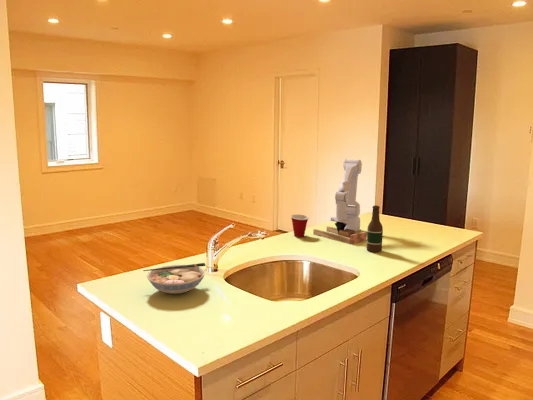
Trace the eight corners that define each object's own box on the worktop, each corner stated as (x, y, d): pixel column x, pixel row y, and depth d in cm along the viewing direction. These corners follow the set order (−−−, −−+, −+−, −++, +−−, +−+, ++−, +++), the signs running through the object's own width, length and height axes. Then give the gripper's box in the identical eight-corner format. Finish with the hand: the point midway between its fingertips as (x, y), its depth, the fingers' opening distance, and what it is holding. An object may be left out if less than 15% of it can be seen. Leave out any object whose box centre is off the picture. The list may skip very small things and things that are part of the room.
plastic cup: (302, 239, 262) (302, 218, 260) (286, 236, 268) (286, 216, 266) (312, 235, 270) (312, 215, 268) (297, 232, 277) (297, 213, 275)
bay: (328, 230, 282) (328, 223, 281) (366, 240, 260) (367, 232, 259) (313, 234, 274) (313, 226, 273) (351, 244, 251) (352, 235, 250)
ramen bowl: (145, 305, 168) (144, 284, 166) (143, 284, 189) (142, 265, 188) (212, 298, 175) (212, 278, 173) (203, 278, 196) (203, 260, 195)
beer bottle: (382, 253, 235) (384, 207, 231) (366, 252, 236) (368, 206, 232) (381, 249, 242) (383, 204, 238) (366, 248, 244) (368, 204, 240)
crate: (346, 237, 267) (347, 228, 266) (356, 239, 262) (356, 230, 261) (338, 239, 262) (338, 230, 261) (348, 241, 257) (348, 232, 256)
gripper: (327, 210, 266) (326, 233, 269) (346, 214, 255) (345, 238, 258) (335, 209, 271) (334, 231, 273) (354, 213, 260) (353, 236, 262)
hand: (340, 234), depth 266 cm, fingers closed
